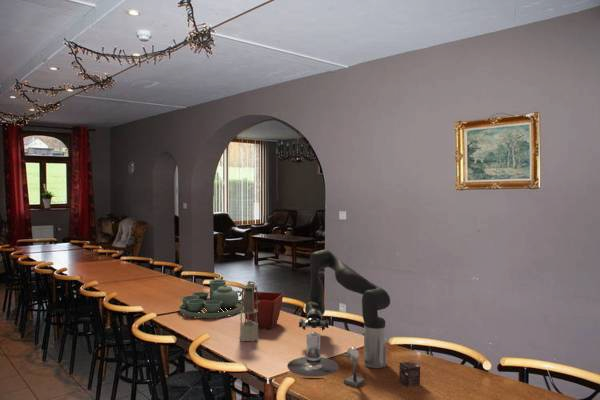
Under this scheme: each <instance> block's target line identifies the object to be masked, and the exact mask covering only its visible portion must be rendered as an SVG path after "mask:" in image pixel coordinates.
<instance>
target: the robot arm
mask: <svg viewBox="0 0 600 400" xmlns="http://www.w3.org/2000/svg"><path fill="white" fill-rule="evenodd" d="M309 268H310V271H309V272H310V281H311V282H310V284H311V285H310V292H309V299H310V301H309V302H307V303H306V305H305V307H304V310H305V314H306V316H307V317H306V318H305V320H304V319H303V318H299V322H298V327H299V328H302V329H303V331H306V329H307V328H311V329H317V328H318V329H321V331H324V330H326V329H329V327H330V326H329V325H330V322H329V320H328V319H327V318H326V319H325V320H323V316H324V314H325V311H326V310H325V309H326V308H325V303H324V292H325V286H324V282H323V281H322V279H321V278H320V274H319V273H320V270H323V269H326V268H330V269H332V270H333V271H334V276H335V277H334V278H335V280H336V282H337V283H338V284H339V285H341V286H342V287H343V288H345V289H346V290H348V291H351V292H354V293H357V294H360V295H362V298H361V306H362V307H361V309H362V319H363V365H364V366H366V367H368V368H371V369H381V368H386V366H387V344H386V320H385V319H384V318H383V317H380V316H379V315H378V314H379V313H378V311H382V310H385V309H387V308H388V307H389V306H390V304H391V298H390V295H389V293H388V291H386V290H385V289H384V288H382V287H381V286H378V285H376V284H374V283H373V282H371V281H369V280H368V279H366V277H364V276H362V275H361V274H359V273H358V272H357V271H356V270H355V269H352V268H351V267H350V266H348V265H347V264H346V263H345V262H343V261H341V259H339V258H338V257H337V256H336V255H335V254H334V253H333V252H331V250H329V249H321V250H317V251H314V252H312V253H310V257H309Z"/></svg>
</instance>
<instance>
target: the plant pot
mask: <svg viewBox="0 0 600 400" xmlns="http://www.w3.org/2000/svg"><path fill="white" fill-rule="evenodd" d="M259 293H260V294H259ZM283 298H284V293H282V292H271V291H270V292H268V291H258V292H257V299H258V302H259V301H260V302H259V303H258V306H257V304H255V303H256V291H254V309H257V307H258V312H257V323H258V329H264V328H267V329H269V330H270V328H271V329H272V328H273V327H274V326H275V325H277V323H278V321H279V317H280V315H281V314H280V313H281V309H282V305H283V300H284V299H283ZM243 299H244V306H245V298H244V297H243ZM247 318H248V319H247ZM249 320H252V322H254V321H255V322H256V313H255V320H254V313H252V314H248V317H247V313H246V321H249ZM267 329H266V330H267Z"/></svg>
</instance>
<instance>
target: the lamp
mask: <svg viewBox="0 0 600 400" xmlns="http://www.w3.org/2000/svg"><path fill="white" fill-rule="evenodd" d="M241 288H242V289H241V290H242V291H241V292H242V295H241V299H242V301H241V302H242V310H241V311H240V312H239V313H240V324H239V327H240V328H239V329H240V331H239V337H238V340H239V339H240V340H241V341H240V340H239V341H240V342H243V341H254V342H256V341H258V340H260V337H259V328H258V323H257V312H258V307H257V309H254V292H256V303H255V304H257V306H258V303H259V302H260V301H259V302H258V299H257V292H259V291H258V285H256V283H255V282H254V281H250V280H249V281H247V284H244V285H242V286H241ZM259 294H260V293H259ZM243 298H245V306H244V299H243ZM246 313H247V317H248V314H252V313H254V320H255V313H256V322H255V321H254V322H252V320H249V321H247V320H246ZM242 314H244V321H243V320H242V318H243V315H242ZM247 319H248V318H247ZM257 339H258V340H257ZM255 340H256V341H255Z"/></svg>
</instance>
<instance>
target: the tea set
mask: <svg viewBox="0 0 600 400" xmlns="http://www.w3.org/2000/svg"><path fill="white" fill-rule="evenodd" d="M226 282H227V280H226V279H223V278H222V279H220V278H219V279H216V278H215V279H211V280H209V281H208V283H209V292H207V291H197V292H193V293H191V294H190V295H185V296H182V297H181V300H182V304H180V305H179V311H180V315H182V314H184V315H183V316H185V315H186V316H185V317H187V316H189V317H188V318H191V317H199V318H198V319H202V318H208V319H217V318H216V317H222V318H224V317H223V316H227V317H229V316H228V315H232V316H235V315H236V313H237V314H239V313H241V312H240V311H241V310H242V298H241V299H240V298H239V294H241V296H242V291H241V290H235V289H233V288H232V286H231V285H230V286H229V285H226ZM208 295H209V298H208ZM239 299H240V300H239ZM203 307H204V308H205V309H206V310H207V311H206V310H205V309H204V308H203ZM220 308H221V309H222V310H223V311H224V312H223V311H222V310H221V309H220ZM225 308H226V309H227V310H228V311H227V310H226V309H225ZM230 308H231V309H230ZM201 310H203V311H204V312H205V313H203V312H202V311H201ZM218 311H219V312H218ZM198 312H200V313H198ZM238 312H239V313H238ZM234 314H235V315H234Z"/></svg>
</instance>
